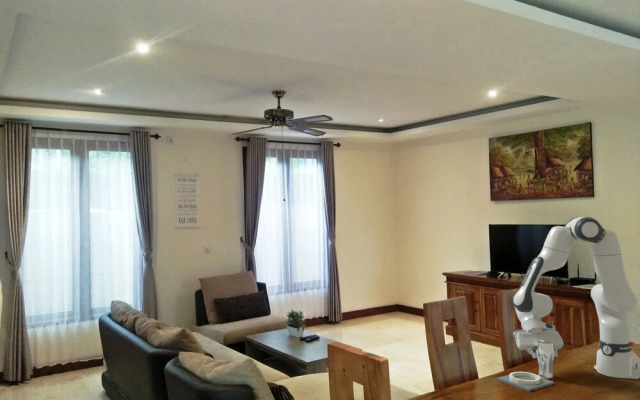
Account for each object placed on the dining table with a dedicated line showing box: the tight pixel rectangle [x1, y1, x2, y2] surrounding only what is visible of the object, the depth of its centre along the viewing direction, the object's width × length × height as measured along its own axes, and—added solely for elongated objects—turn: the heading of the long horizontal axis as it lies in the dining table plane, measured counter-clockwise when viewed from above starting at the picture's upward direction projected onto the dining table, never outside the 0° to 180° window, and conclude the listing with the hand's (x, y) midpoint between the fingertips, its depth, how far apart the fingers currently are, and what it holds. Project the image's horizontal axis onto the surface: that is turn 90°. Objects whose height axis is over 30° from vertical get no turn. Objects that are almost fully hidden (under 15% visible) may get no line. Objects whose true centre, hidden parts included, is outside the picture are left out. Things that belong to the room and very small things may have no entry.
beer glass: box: [535, 340, 555, 380], centre depth 216 cm, size 7×7×15 cm
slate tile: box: [496, 371, 555, 392], centre depth 209 cm, size 16×16×2 cm
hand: (545, 357), depth 215 cm, fingers open, 8 cm apart
